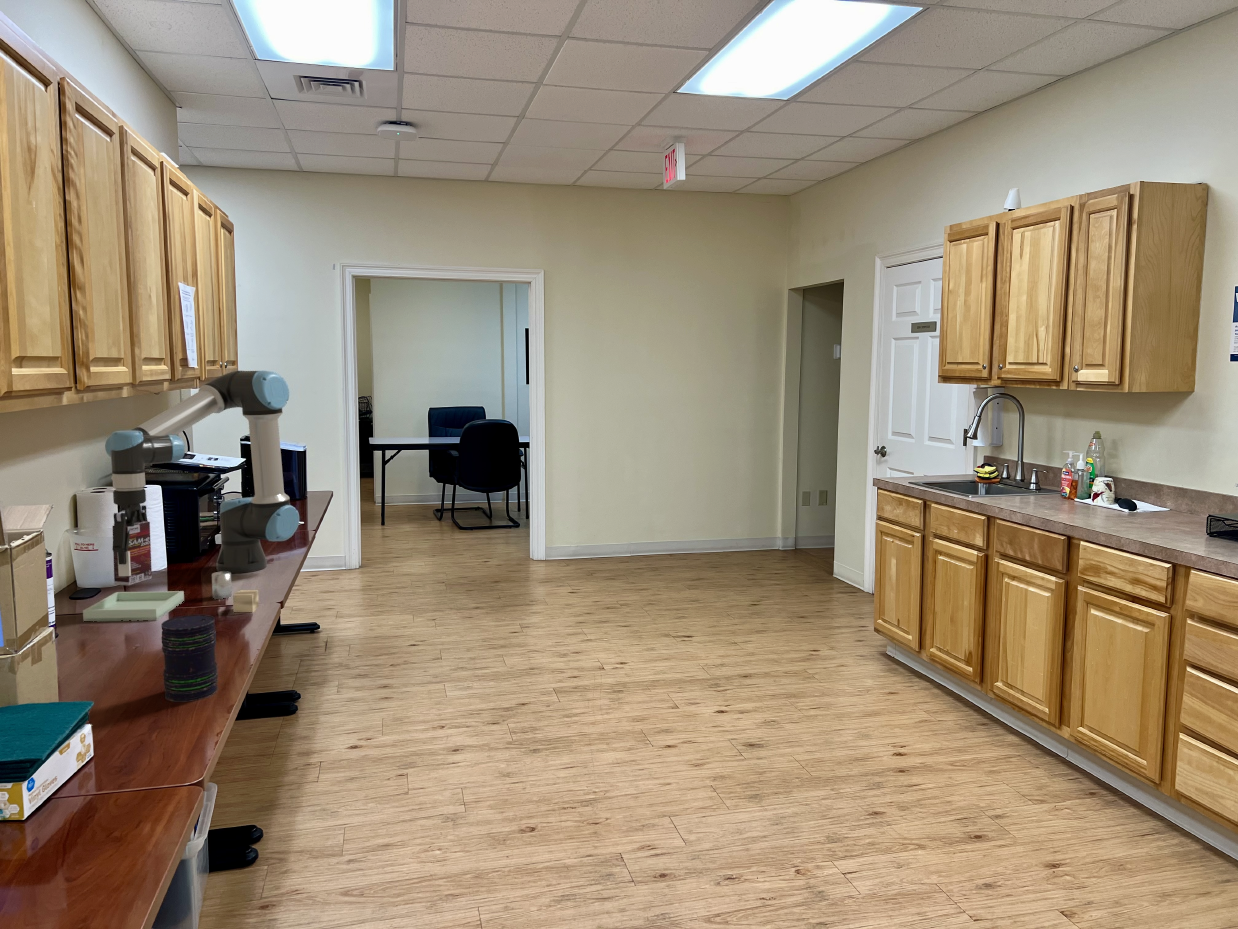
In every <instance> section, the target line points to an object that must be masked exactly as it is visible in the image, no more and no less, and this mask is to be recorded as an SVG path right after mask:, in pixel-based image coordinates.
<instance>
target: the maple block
mask: <svg viewBox="0 0 1238 929" xmlns="http://www.w3.org/2000/svg"><path fill="white" fill-rule="evenodd" d="M232 602H233V603H232V604H233V605H232V608H233V613H234V612H253V613H254V612H256V611H257V610H258V609H259V608H260V604H259V590H258V589H252V590H248V589H246V590H245V589H244V590H243V589H241V590H238V591H236V592H235V593H233V594H232ZM258 607H259V608H258ZM257 608H258V609H257ZM256 609H257V610H256Z"/></svg>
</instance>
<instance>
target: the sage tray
mask: <svg viewBox="0 0 1238 929" xmlns="http://www.w3.org/2000/svg"><path fill="white" fill-rule="evenodd" d="M184 593H185V592H184V590H180V591H179V590H175V591H172V590H171V591H169V590H167V591H165V590H164V591H117V592H113V593H112V594H110V595H108V596H107V597H105V598H103V599H101V600H99V601H98V602H96V603H94V604H92V605H90V606H89V607H87V608H85V609H83V610H82V617H83V618H82V619H83V622H84V621H93V622H94V621H97V623H98V622H136V621H137V620H139V621H138V622H140V621H142V622H143V620H148V621H158V620H159V619H161V618H162V617H164V616H166V614H168V613H169V612H171V611H172V610H174V609H175V608H177V607H178V606H179V604H180V605H181V604H183V603H184V602H185V594H184ZM183 601H184V602H183ZM182 602H183V603H182ZM176 606H177V607H176ZM121 620H123V621H121ZM129 620H131V621H129ZM94 623H95V622H94Z"/></svg>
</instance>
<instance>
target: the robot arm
mask: <svg viewBox="0 0 1238 929" xmlns="http://www.w3.org/2000/svg"><path fill="white" fill-rule="evenodd" d="M289 399H290V389H289V385H288V384H287V381H286V380H285V378H284V377H282V375H280V374H279V373H277V372H274V371H269V370H234V371H230V372H227V373H224V374H222V375H219V376H218V377H216V378H213V379H212V380H210V381H208V382H207V383H204V384H203V385H201V386H200V387H199V388H198V391H197V392H196V393H194V394H193V395H191V396H189V397H187V398H186V399H184V400H182V401H180V402H178V403H177V404H175V405H173V406H171V407H169V408H168V409H166V410H164V411H162V412H160V413H159V414H157V415H155V416H154V417H152V418H150V419H147V421H145V422H142V423H141V424H140V425H137V426H136V427H134V428H132V429H130V430H116V431H113V432H112V433H111V434H110V436H108V438H107V439H106V441H105V444H104V450H105V452H106V454H107V455H108V457H110V460H111V474H112V476H111V477H110V479H111V480H112V488H113V489H114V490H113V491H112V496H113V497H112V498H113V500H112V501H113V504H114V505H116V506H119V512H113V526H114V533H113V532H112V547H111V548H112V553H113V552H117V553H118V572H119V576H131V568H130V551H128V546H129V540H130V534H129V531H128V534H126V533H125V532H126V526H131V527H133V526H134V523H137V522H143V521H148V522H149V520H148V515H147V505H143V504H145V503H146V501H147V492H146V489H145V487H146V475H145V474H146V473H145V472H146V471H145V468H146V467H145V466H146V465H153V464H154V465H155V464H164V463H165V464H167V463H169V464H171V463H173V462H179V461H180V460H182V459H183V458H184V456H185V453H186V447H185V446H186V445H185V442H184V440H183V439H182V438H181V437H180V436H178V434H181V433H182V432H184V431H185V430H186V429H189V428H190V427H192V426H193V425H195V424H197V423H199V422H200V421H202V420H204V419H205V418H207V417H208V416H210V415H212V414H220V413H222V412H224V411H226V410H229V409H234V408H236V409H237V408H241V411H242V416H243V417H244V418H245V419H246V420H248V430H249V431H248V432H249V439H250V440H249V441H250V450H251V451H250V452H251V453H250V454H251V463H252V474H253V486H254V496H250V497H242V498H234V499H229V500H228V499H227V500H224V501H222V502H221V503H220V506H219V523H220V540H221V541H220V542H221V545H220V546H221V547H220V550H219V553H218V557H217V560H216V564H215V565H216V571H217V572H222V571H228V572H231V574H241V573H242V574H243V573H251V572H256V571H260V570H262V569H265V568H267V564H268V562H267V558H266V555H265V552H264V550H263V547H262V544H261V540H264V541H269V542H284V541H287V540H289V539H290V538H292V536H294V534H295V532H296V531H297V529H298V527H299V524H300V514H299V511H298V510H297V509H296V507H294V506H293V505H291V499H290V496H289V495H288V494H286V493H285V490H284V488H285V487H284V476H283V465H282V464H283V462H282V453H281V452H282V451H281V450H282V449H281V440H280V429H279V428H280V426H279V418H280V417H281V416H282V415H283V408H285V406H286V405H287V403H288V401H289ZM141 504H142V505H141Z"/></svg>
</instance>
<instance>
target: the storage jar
mask: <svg viewBox="0 0 1238 929" xmlns="http://www.w3.org/2000/svg"><path fill="white" fill-rule="evenodd" d="M215 622H216V621H215V617H214V616H212V615H208V614H190V615H181V616H177V617H173V618H169V619H167V620H164V621H163V622H162V623H161V626H160V627H161V630H162V631H161V645H162V647H161V650H162V652H163V656H164V659H163V660H164V669H163V675H162V676H163V686H164V691H165V692H164V698H165V699H166V700H167V701H170V702H177V703H183V702H187V703H188V702H195V701H200V700H202V699H206V698H208V697H212V696H213V695H215V693H217V692H218V688H219V687H218V685H217V683H218V677H219V676H218V663H217V662H216V652H215V647H216V645H217V640H216V637H217V632H216V625H215Z"/></svg>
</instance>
